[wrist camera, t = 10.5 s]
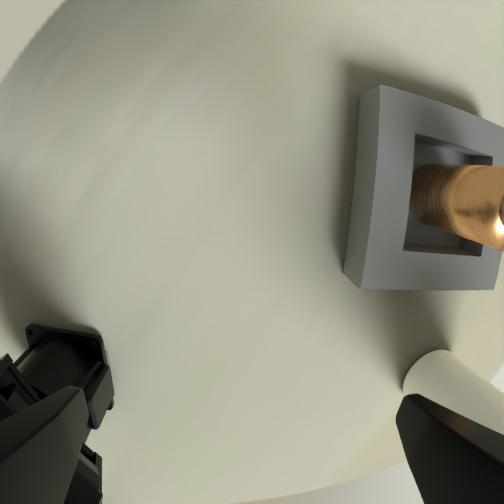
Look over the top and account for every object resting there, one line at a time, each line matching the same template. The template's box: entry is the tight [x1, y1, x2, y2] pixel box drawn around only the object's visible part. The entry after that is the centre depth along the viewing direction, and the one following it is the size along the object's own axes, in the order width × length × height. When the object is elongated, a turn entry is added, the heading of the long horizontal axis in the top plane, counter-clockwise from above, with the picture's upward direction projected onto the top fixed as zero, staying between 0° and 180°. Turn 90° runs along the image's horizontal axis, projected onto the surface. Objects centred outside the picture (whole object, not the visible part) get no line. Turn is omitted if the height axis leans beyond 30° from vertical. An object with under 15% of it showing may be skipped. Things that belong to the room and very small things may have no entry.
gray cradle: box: [343, 84, 504, 290], centre depth 17 cm, size 11×11×3 cm
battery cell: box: [409, 164, 504, 252], centre depth 14 cm, size 4×4×8 cm
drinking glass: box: [403, 349, 504, 435], centre depth 15 cm, size 7×7×15 cm
